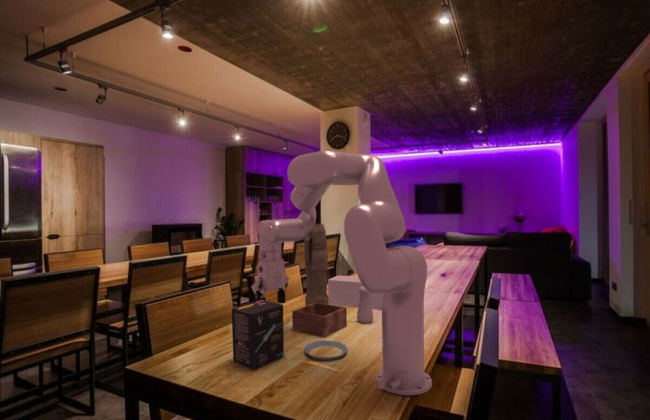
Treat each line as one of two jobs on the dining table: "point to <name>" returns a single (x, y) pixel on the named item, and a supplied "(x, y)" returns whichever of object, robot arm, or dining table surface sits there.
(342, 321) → the box
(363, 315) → the salt shaker
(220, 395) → the dining table surface
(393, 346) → the robot arm
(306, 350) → the saucer
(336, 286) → the pink rectangular block
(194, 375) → the dining table surface
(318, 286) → the thermos
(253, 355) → the tampon box
